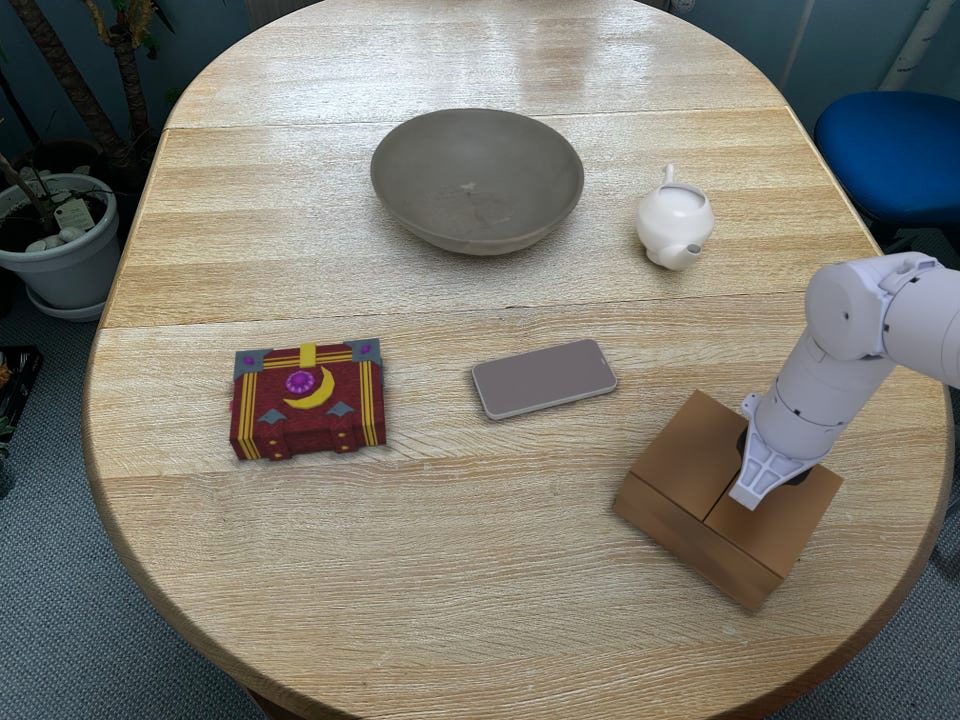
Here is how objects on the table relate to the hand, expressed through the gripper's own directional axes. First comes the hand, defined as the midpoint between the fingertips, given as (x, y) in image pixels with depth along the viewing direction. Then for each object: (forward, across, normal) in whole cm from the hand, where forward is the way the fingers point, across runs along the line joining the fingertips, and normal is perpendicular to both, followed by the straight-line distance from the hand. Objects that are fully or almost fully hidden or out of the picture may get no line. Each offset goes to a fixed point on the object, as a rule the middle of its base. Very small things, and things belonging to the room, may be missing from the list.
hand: (752, 484), depth 58 cm
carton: (+8, 0, -2) cm, 8 cm away
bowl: (+8, -18, -48) cm, 51 cm away
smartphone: (+8, -2, -24) cm, 25 cm away
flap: (0, 0, +2) cm, 2 cm away
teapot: (+8, -29, -24) cm, 39 cm away
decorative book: (+8, +18, -40) cm, 44 cm away
